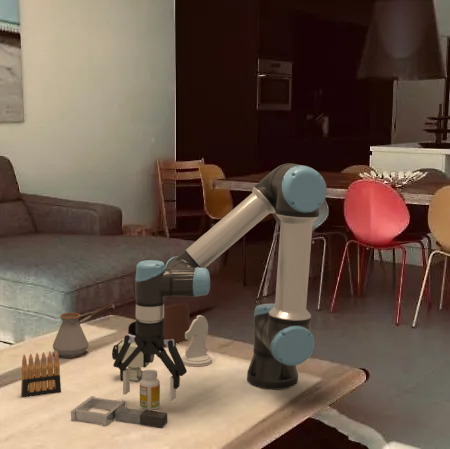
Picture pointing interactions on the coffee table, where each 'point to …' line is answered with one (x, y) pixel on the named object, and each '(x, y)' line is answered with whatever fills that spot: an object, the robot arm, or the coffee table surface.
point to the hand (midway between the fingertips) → (149, 396)
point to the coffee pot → (73, 334)
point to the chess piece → (197, 344)
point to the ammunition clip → (40, 376)
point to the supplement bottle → (149, 390)
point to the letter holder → (172, 322)
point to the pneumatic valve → (138, 362)
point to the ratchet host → (116, 413)
